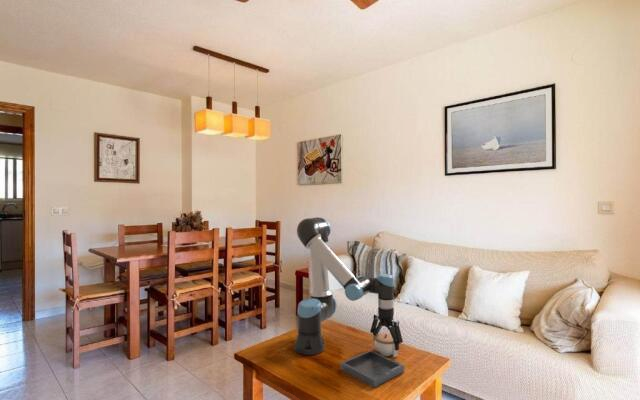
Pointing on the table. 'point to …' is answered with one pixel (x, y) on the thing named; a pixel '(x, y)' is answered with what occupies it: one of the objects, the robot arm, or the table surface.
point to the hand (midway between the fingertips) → (385, 352)
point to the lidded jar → (384, 344)
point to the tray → (372, 368)
